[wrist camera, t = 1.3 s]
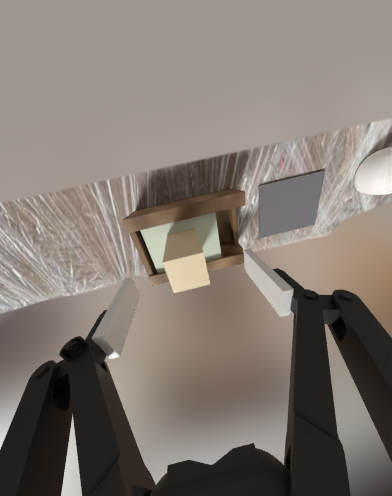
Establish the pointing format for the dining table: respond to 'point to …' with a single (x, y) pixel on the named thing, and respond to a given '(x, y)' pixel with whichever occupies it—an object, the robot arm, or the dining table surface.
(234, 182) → the dining table surface
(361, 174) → the bottle
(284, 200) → the mat
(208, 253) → the lid
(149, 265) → the walnut box
